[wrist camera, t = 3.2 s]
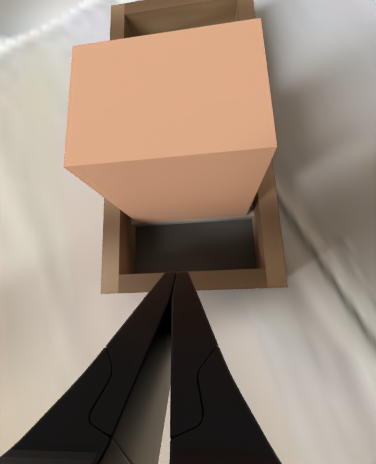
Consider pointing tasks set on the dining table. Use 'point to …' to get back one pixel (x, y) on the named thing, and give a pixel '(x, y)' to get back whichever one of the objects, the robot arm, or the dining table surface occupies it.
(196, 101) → the block
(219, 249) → the box
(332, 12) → the dining table surface
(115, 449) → the robot arm
